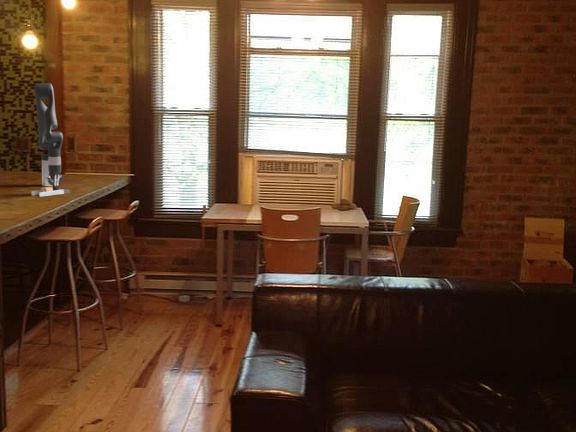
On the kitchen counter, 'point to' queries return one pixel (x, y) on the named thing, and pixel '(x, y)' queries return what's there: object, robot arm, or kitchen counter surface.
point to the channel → (48, 193)
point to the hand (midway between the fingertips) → (55, 191)
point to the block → (46, 189)
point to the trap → (65, 190)
